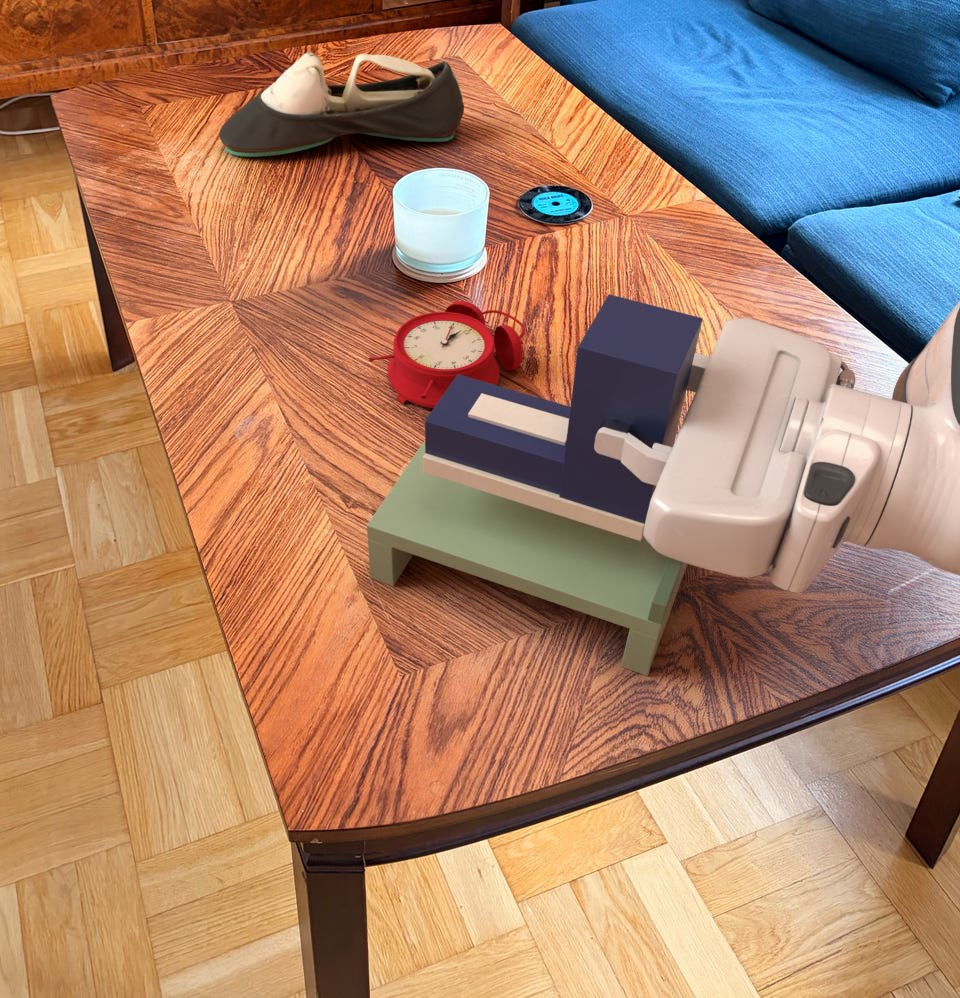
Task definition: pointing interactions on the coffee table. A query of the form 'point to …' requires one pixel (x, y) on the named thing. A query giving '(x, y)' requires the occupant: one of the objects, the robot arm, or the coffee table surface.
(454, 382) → the dark blue l-shaped block
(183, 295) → the coffee table surface
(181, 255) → the coffee table surface
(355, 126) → the ballet flat
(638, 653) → the shoe rack
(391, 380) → the alarm clock
